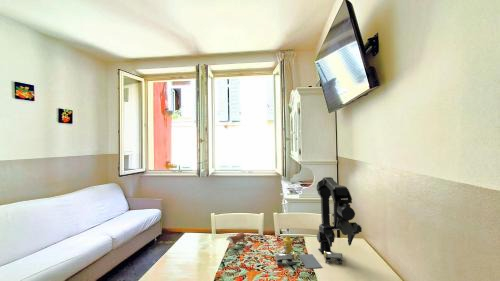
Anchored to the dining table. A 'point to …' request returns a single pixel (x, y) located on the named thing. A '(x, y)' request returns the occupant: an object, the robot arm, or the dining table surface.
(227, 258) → the dining table surface
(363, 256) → the dining table surface
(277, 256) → the shaft
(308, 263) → the seat mat
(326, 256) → the shaft
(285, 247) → the pressure relief valve
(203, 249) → the dining table surface
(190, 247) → the dining table surface
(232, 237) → the bull figurine
